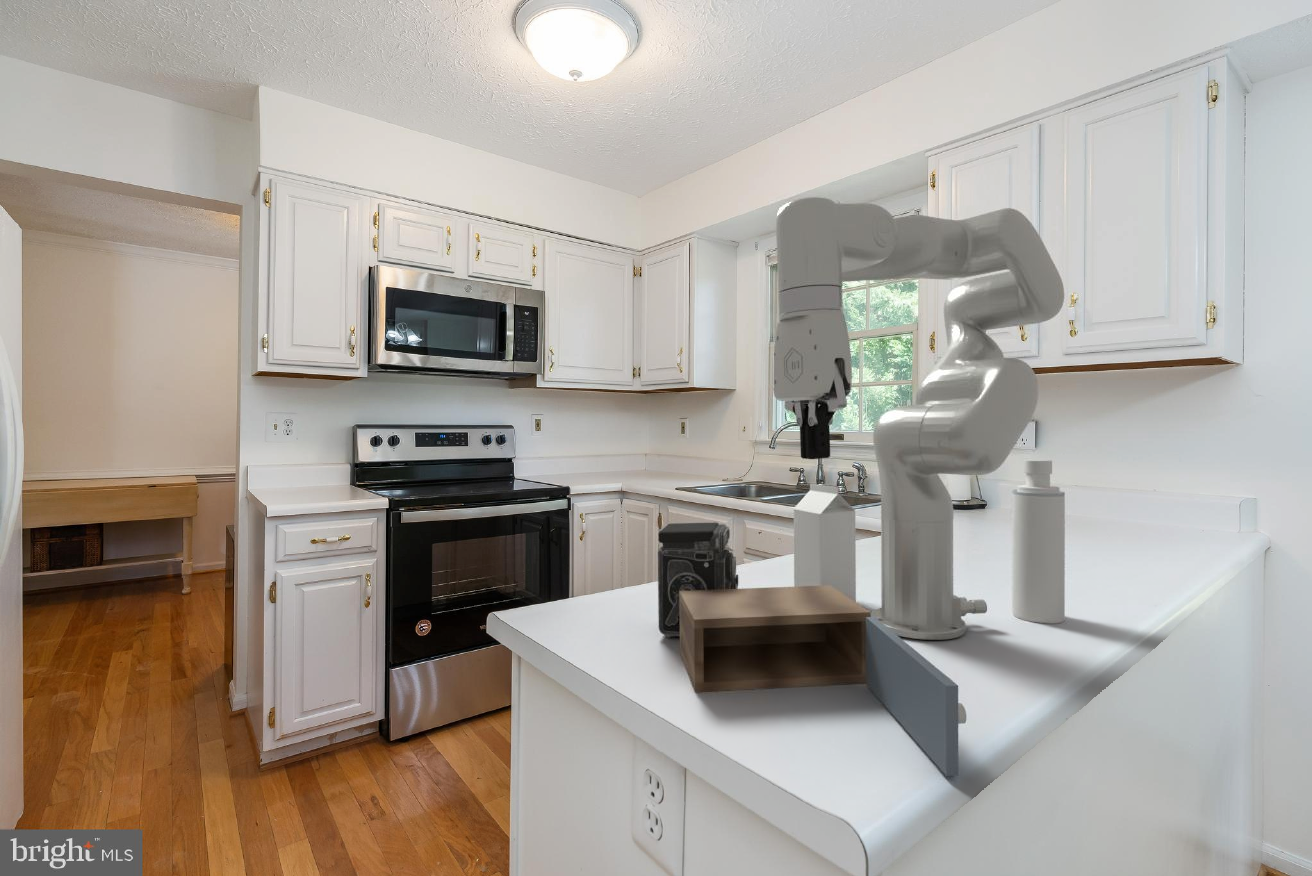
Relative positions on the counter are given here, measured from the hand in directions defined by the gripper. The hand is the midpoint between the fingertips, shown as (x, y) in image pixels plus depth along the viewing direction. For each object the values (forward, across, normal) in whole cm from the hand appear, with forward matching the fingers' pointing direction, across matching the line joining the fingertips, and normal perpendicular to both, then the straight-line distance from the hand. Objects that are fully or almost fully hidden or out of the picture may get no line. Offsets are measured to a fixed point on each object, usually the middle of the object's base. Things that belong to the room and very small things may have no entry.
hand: (815, 457), depth 77 cm
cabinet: (+25, -1, -7) cm, 26 cm away
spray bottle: (+27, -1, +40) cm, 48 cm away
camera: (+25, -16, -9) cm, 31 cm away
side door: (+24, +18, -3) cm, 30 cm away
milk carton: (+26, -21, +17) cm, 38 cm away
